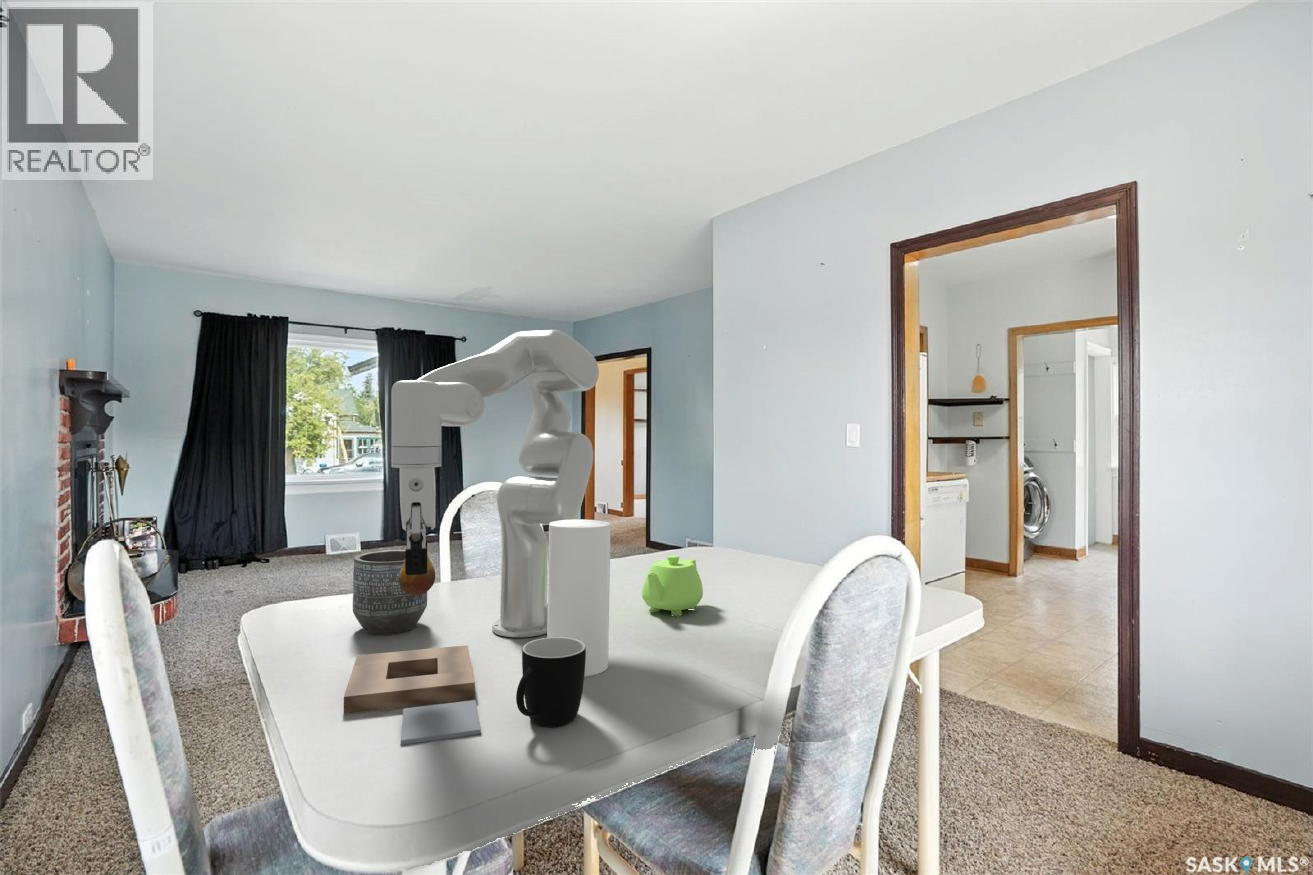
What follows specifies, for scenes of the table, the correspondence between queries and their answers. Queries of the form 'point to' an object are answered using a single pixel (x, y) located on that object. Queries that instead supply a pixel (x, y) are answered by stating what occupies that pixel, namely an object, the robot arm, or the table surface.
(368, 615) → the planter
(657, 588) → the teapot
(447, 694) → the block with square hole
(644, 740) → the table surface
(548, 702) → the mug
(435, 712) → the coaster
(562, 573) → the tall pillar cylinder
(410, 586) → the fruit
